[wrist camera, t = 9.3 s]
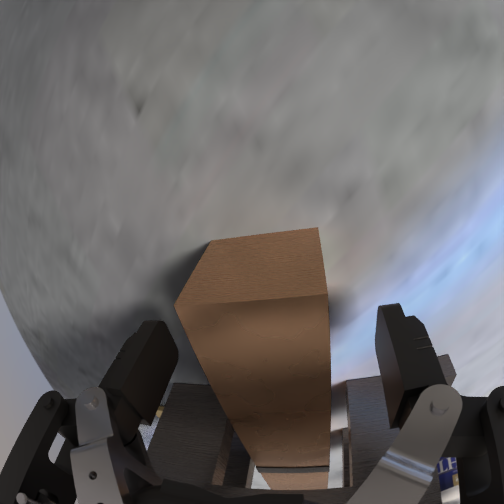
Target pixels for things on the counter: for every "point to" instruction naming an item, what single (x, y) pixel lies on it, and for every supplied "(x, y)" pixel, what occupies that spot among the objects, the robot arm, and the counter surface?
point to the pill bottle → (448, 480)
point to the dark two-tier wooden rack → (239, 461)
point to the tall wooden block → (267, 349)
